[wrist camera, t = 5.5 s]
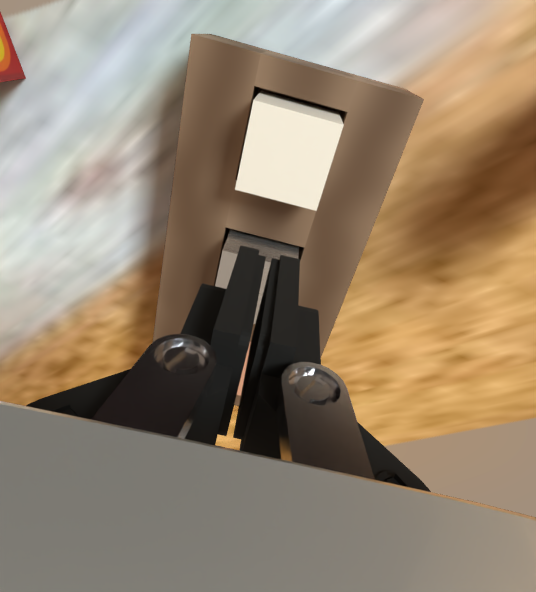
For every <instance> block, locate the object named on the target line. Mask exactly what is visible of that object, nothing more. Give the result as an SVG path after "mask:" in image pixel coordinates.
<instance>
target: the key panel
mask: <svg viewBox="0 0 536 592" xmlns="http://www.w3.org/2000/svg"><path fill="white" fill-rule="evenodd" d="M261 91H264V92H268V93H272V94H275V95H279V96H282V97H286V98H290V99H293V100H297V101H300V102H304V103H308V104H311V105H315V106H319V107H322V108H326V109H329V110H333V111H337V112H339V114H340V117H341V119H342V122H343V124H344V126H343V129H342V132H341V135H340V138H339V142H338V145H337V148H336V151H335V154H334V157H333V160H332V164H331V167H330V170H329V173H328V176H327V179H326V182H325V186H324V189H323V192H322V195H321V198H320V201H319V204H318V208H317V211H315V210H311V209H307V208H303V207H300V206H296V205H292V204H288V203H284V202H281V201H277V200H273V199H269V198H265V197H261V196H258V195H254V194H250V193H246V192H242V191H239V190H235V187H236V182H237V177H238V172H239V168H240V163H241V158H242V153H243V148H244V143H245V138H246V134H247V129H248V124H249V119H250V114H251V109H252V104H253V100H254V99H255V97H256V96H257V95H258V94H259V93H260V92H261ZM423 100H424V99H422V98H421V97H419V96H417V95H415V94H413V93H411V92H410V91H408V90H406V89H403V88H400V87H396V86H393V85H389V84H386V83H382V82H379V81H375V80H372V79H368V78H364V77H361V76H357V75H354V74H350V73H347V72H343V71H340V70H336V69H333V68H329V67H326V66H322V65H318V64H315V63H311V62H308V61H304V60H301V59H297V58H294V57H290V56H287V55H283V54H280V53H276V52H272V51H269V50H265V49H262V48H258V47H255V46H251V45H248V44H244V43H241V42H237V41H234V40H230V39H226V38H223V37H219V36H216V35H212V34H191V42H190V50H189V58H188V66H187V74H186V82H185V90H184V98H183V106H182V114H181V121H180V129H179V137H178V145H177V153H176V161H175V169H174V177H173V185H172V193H171V201H170V209H169V217H168V225H167V233H166V240H165V248H164V256H163V264H162V272H161V280H160V288H159V296H158V304H157V312H156V320H155V328H154V336H153V342H154V341H155V340H156V339H159V338H161V337H163V336H166V335H172V334H180V333H181V331H182V328H183V326H184V324H185V321H186V319H187V317H188V314H189V312H190V310H191V307H192V305H193V303H194V300H195V298H196V296H197V293H198V291H199V289H200V286H201V284H202V283H203V284H208V285H212V286H215V284H216V279H217V274H218V270H219V265H220V260H221V255H222V250H223V248H224V245H225V243H226V240H227V238H228V235H229V233H230V230H231V229H234V230H238V231H242V232H246V233H250V234H254V235H257V236H261V237H265V238H269V239H273V240H277V241H281V242H285V243H289V244H292V245H296V246H299V254H298V259H300V274H299V302H298V305H299V306H303V307H308V308H312V309H316V310H318V312H319V334H320V358H321V356H322V353H323V351H324V348H325V346H326V343H327V341H328V338H329V336H330V333H331V331H332V328H333V326H334V323H335V321H336V318H337V316H338V313H339V311H340V308H341V306H342V303H343V301H344V298H345V296H346V293H347V291H348V288H349V286H350V283H351V281H352V278H353V276H354V273H355V271H356V268H357V266H358V263H359V261H360V258H361V256H362V253H363V251H364V248H365V246H366V243H367V241H368V238H369V236H370V233H371V231H372V228H373V226H374V223H375V221H376V218H377V216H378V213H379V211H380V208H381V206H382V203H383V201H384V198H385V196H386V193H387V191H388V188H389V186H390V183H391V181H392V178H393V176H394V173H395V171H396V168H397V166H398V163H399V161H400V158H401V156H402V153H403V150H404V148H405V145H406V143H407V140H408V138H409V135H410V133H411V130H412V128H413V125H414V123H415V120H416V118H417V115H418V113H419V110H420V108H421V105H422V103H423ZM254 327H255V324H253V328H252V333H251V338H250V341H251V340H252V335H253V331H254ZM240 398H241V396H239V395H236V399H235V403H234V405H237V406H239V403H240Z"/></svg>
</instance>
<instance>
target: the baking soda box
mask: <svg viewBox="0 0 536 592" xmlns="http://www.w3.org/2000/svg"><path fill="white" fill-rule="evenodd" d="M24 78H26V77H25V75H24V72H23V70H22V67H21V64H20V62H19V59H18V57H17V54H16V51H15V49H14V46H13V43H12V41H11V38H10V36H9V33H8V30H7V28H6V25H5V23H4V20H3V17H2V15H1V12H0V82H6V81H12V80H18V79H24Z"/></svg>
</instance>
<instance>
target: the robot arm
mask: <svg viewBox="0 0 536 592" xmlns="http://www.w3.org/2000/svg"><path fill="white" fill-rule="evenodd" d="M265 260H266V257H265V256H261V255H259V250H258V249H254V248H250V247H246V246H240V248H239V252H238V255H237V258H236V261H235V264H234V267H233V270H232V273H231V277H230V280H229V283H228V286H227V289H225V288H221V287H216V286H212V285H208V284H203V283H202V284H201V286H200V289H199V291H198V293H197V296H196V298H195V300H194V303H193V305H192V307H191V310H190V312H189V314H188V317H187V319H186V321H185V324H184V326H183V328H182V331H181V333H180V334H172V335H166V336H163V337H161V338H159V339H156V340H155V341H154V342H153V343H152V344H151V345H150V346H149V347H148V348H147V349H146V351H145V352H144V353H143V354H142V356H141V357H140V358H139V360H138V361H137V362H136V363H135V365H134V366H133V367H132V368H131V369H129V370H126V371H123V372H120V373H117V374H114V375H111V376H108V377H105V378H102V379H99V380H96V381H93V382H90V383H87V384H84V385H81V386H78V387H75V388H72V389H69V390H66V391H63V392H60V393H57V394H54V395H51V396H48V397H45V398H42V399H39V400H37V401H35V402H33V403H30V404H28V405H27V406H23V405H18V404H13V403H8V402H3V401H0V592H536V517H532V516H528V515H524V514H520V513H516V512H512V511H508V510H504V509H500V508H497V507H493V506H489V505H485V504H481V503H477V502H473V501H468V500H463V499H459V498H454V497H450V496H445V495H441V494H437V493H432V492H431V491H430V490H429V489H428V488H427V487H426V486H425V484H424V483H423V482H422V481H421V480H420V479H419V478H418V477H417V476H416V475H415V474H413V473H412V472H411V471H410V470H409V469H408V468H407V467H406V466H405V465H404V464H403V463H401V462H400V461H399V460H398V459H397V458H396V457H395V456H394V455H393V454H392V453H391V452H390V451H388V450H387V449H386V448H385V447H384V446H383V445H382V444H381V443H380V442H379V441H378V440H376V439H375V438H374V437H373V436H372V435H371V434H370V433H369V432H368V431H367V430H366V429H364V428H363V427H362V426H361V425H360V424H359V423H358V422H357V420H356V416H355V413H354V410H353V407H352V403H351V400H350V397H349V394H348V390H347V388H346V386H345V384H344V382H343V380H342V379H341V378H340V377H339V376H338V375H337V374H336V373H335V372H333V371H332V370H330V369H329V368H327V367H324V366H322V365H321V359H320V334H319V312H318V310H316V309H312V308H308V307H303V306H299V305H298V302H299V274H300V259H297V258H292V257H288V256H284V255H280V258H279V260H278V259H274V258H272V260H271V264H270V268H269V272H268V276H267V280H266V284H265V288H264V292H263V296H262V299H261V303H260V307H259V311H258V315H257V319H256V323H255V327H254V331H253V335H252V340H251V344H250V349H249V355H248V360H247V365H246V371H245V376H244V382H243V387H242V392H241V398H240V403H239V409H238V414H237V419H236V425H235V430H234V436H233V438H238V439H241V444H240V451H239V450H234V449H230V448H225V447H220V446H215V443H216V438H217V434H219V435H224V436H226V435H227V431H228V427H229V423H230V419H231V415H232V411H233V407H234V403H235V399H236V395H237V391H238V387H239V383H240V379H241V375H242V371H243V367H244V363H245V359H246V355H247V351H248V347H249V343H250V338H251V333H252V328H253V323H254V318H255V312H256V307H257V302H258V297H259V291H260V286H261V281H262V275H263V270H264V265H265Z"/></svg>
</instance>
